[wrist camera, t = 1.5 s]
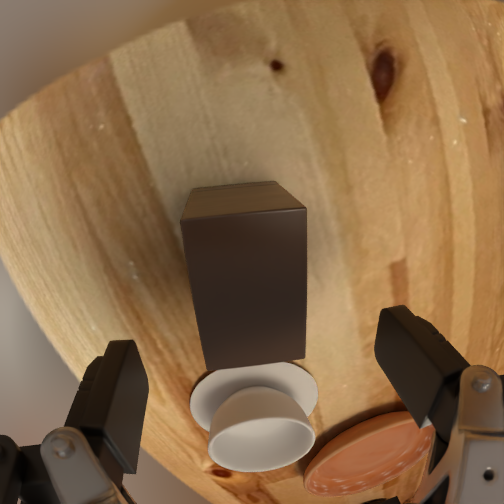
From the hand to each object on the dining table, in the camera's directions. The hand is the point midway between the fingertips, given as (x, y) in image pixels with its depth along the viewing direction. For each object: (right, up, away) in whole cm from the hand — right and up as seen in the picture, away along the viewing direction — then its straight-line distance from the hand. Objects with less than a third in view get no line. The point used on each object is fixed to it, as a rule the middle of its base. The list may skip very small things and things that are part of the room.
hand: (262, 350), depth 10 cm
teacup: (0, -9, +13) cm, 16 cm away
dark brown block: (-1, +3, +8) cm, 9 cm away
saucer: (+13, -18, +19) cm, 29 cm away
